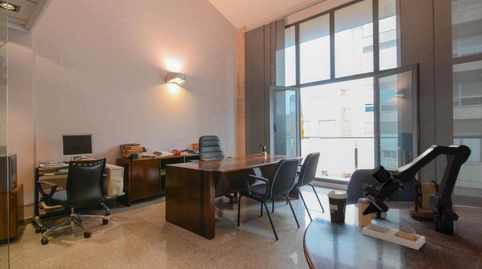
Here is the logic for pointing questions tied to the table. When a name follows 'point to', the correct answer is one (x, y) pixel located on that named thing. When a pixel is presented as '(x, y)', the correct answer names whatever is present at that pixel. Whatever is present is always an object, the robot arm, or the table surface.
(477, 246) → the table surface
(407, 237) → the grey and tan piece
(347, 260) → the table surface
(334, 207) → the coffee cup
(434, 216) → the scroll
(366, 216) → the knob-topped wooden post
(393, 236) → the housing
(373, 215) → the toy excavator
